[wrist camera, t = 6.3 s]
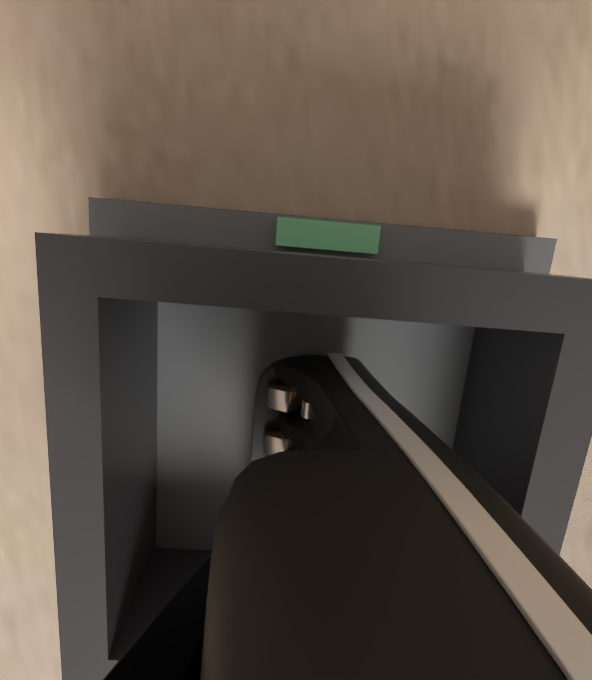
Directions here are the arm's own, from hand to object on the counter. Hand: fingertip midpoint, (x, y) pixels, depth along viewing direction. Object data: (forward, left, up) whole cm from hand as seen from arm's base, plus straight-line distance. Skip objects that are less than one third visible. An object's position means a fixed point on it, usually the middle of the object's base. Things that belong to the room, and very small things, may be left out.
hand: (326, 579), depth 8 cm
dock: (0, 0, -7) cm, 7 cm away
